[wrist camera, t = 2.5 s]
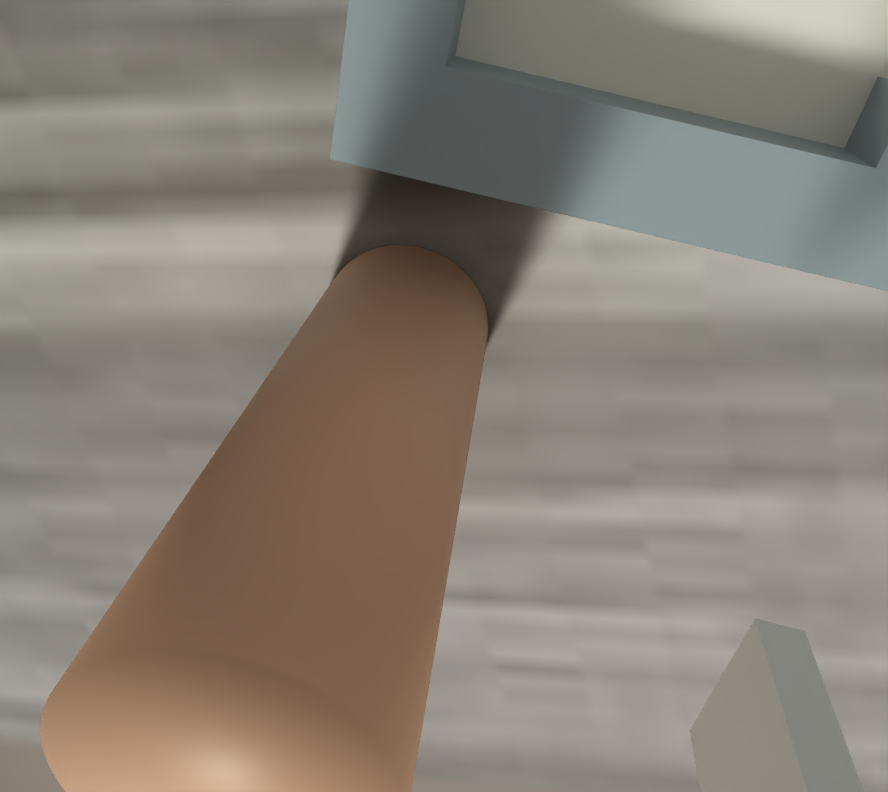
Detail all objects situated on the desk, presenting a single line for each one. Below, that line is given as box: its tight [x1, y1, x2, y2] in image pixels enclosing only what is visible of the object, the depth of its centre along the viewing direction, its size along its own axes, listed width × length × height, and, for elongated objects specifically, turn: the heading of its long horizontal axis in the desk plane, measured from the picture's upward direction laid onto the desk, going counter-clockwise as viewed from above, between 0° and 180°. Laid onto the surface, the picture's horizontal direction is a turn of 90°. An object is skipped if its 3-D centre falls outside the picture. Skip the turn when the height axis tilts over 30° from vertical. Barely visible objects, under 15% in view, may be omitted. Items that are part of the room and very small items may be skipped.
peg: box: [40, 245, 488, 792], centre depth 14 cm, size 4×4×13 cm
